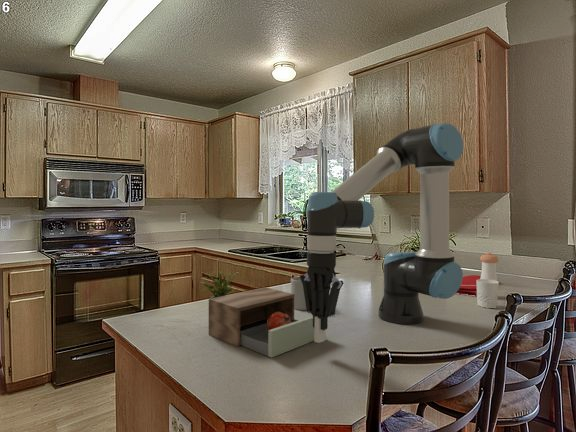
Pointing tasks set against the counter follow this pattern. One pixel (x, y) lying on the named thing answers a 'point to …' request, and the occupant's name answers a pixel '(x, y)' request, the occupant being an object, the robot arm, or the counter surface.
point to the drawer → (278, 337)
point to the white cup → (487, 293)
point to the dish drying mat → (469, 285)
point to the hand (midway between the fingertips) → (319, 340)
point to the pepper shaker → (489, 266)
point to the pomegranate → (278, 320)
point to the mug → (298, 293)
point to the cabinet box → (245, 311)
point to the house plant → (219, 285)
